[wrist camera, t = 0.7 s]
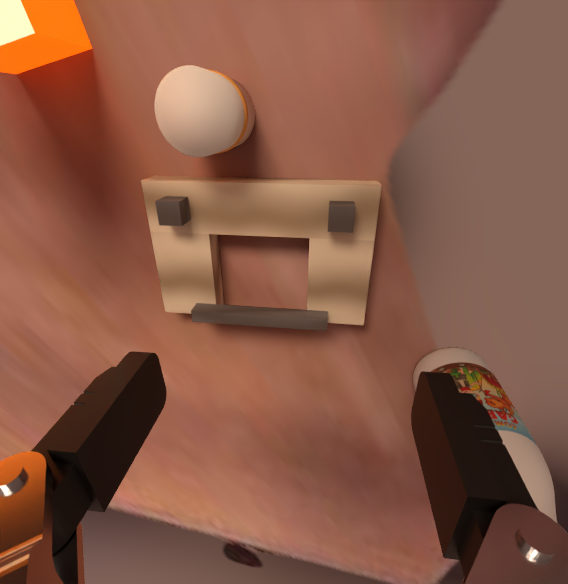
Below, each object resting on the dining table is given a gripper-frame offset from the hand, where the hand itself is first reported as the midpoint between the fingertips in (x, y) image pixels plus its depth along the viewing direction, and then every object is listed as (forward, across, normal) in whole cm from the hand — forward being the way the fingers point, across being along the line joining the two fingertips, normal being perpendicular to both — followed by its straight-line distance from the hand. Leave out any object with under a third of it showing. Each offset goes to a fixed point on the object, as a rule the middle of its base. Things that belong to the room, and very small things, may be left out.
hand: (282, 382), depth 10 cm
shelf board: (+23, +5, +4) cm, 24 cm away
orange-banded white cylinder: (+23, +8, -7) cm, 25 cm away
